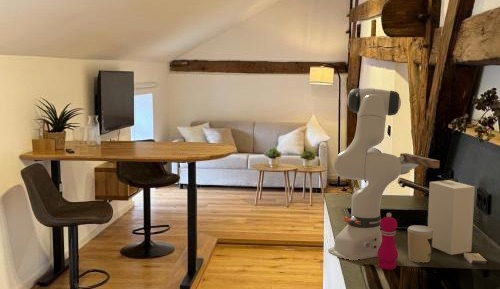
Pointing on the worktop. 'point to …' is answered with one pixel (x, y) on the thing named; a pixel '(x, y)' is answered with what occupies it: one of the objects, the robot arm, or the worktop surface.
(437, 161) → the walnut bar
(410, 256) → the coffee cup
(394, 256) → the pepper mill
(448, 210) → the cream stand
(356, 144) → the robot arm
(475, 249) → the worktop surface
